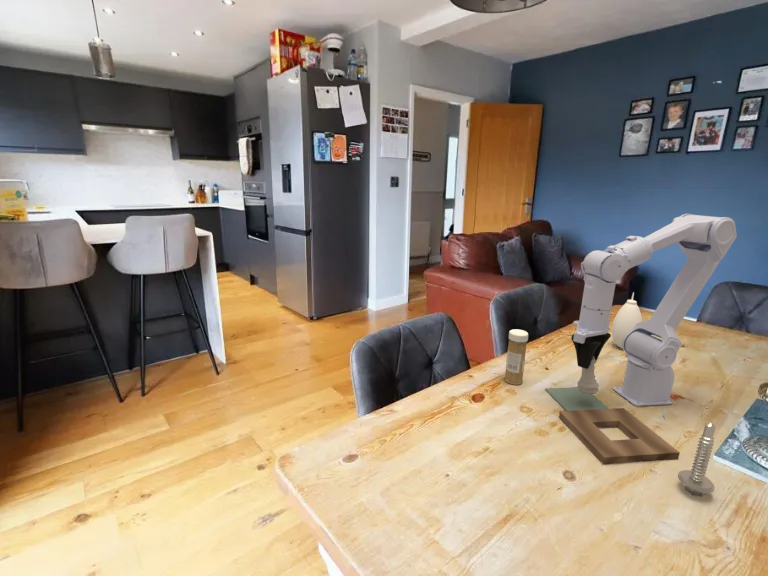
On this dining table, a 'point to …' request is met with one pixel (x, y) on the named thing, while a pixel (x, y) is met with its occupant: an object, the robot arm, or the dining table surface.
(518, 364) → the sprinkles bottle
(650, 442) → the socket board
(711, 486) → the screw
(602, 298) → the robot arm
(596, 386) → the rook chess piece
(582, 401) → the rubber mat
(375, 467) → the dining table surface
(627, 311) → the rubber bulb air blower
